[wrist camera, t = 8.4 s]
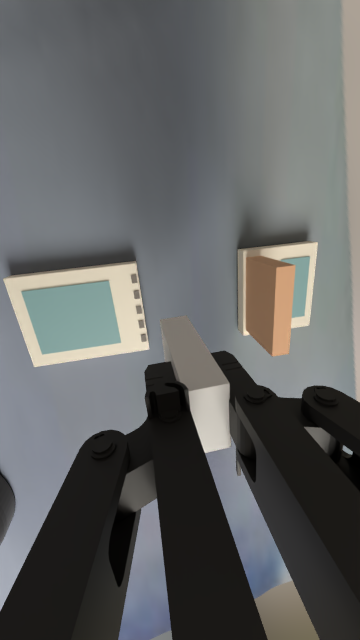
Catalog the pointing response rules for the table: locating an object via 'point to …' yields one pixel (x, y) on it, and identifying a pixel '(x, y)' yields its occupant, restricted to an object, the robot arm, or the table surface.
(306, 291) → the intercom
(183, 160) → the table surface
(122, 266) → the cream tablet with screen
